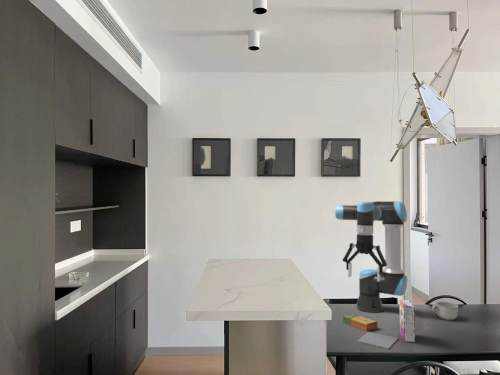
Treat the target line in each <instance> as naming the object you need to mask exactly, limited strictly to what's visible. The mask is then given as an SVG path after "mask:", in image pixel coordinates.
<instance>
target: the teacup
mask: <svg viewBox="0 0 500 375" xmlns="http://www.w3.org/2000/svg"><path fill="white" fill-rule="evenodd" d="M435 309H436V310H435ZM431 311H432V312H433V313H434V314H436V315H437V316H438V317H439V318H440V319H443V320H446V321H453V320H455V319H457V318H458V313H459V306H458V305H457V304H456V303H453V302H450V301H449V302H448V301H442V300H441V301H437V302H436V304H433V305H432V306H431Z"/></svg>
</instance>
